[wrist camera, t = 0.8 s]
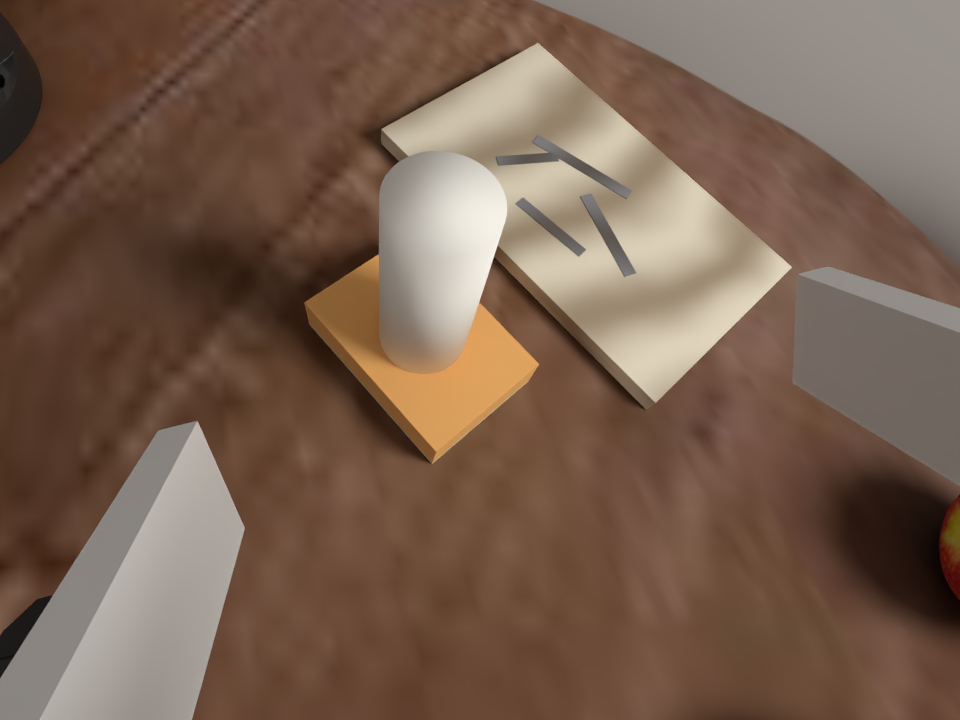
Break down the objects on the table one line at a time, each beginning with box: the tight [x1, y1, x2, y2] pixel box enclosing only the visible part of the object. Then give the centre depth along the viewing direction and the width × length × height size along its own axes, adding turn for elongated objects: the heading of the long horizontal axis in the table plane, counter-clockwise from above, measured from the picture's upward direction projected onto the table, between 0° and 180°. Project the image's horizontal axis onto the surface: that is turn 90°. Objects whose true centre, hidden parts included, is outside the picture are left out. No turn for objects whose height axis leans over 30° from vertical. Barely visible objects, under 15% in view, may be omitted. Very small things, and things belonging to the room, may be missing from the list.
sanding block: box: [304, 151, 539, 464], centre depth 26 cm, size 10×7×13 cm
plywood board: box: [381, 43, 792, 410], centre depth 37 cm, size 23×14×1 cm, turn 43°
